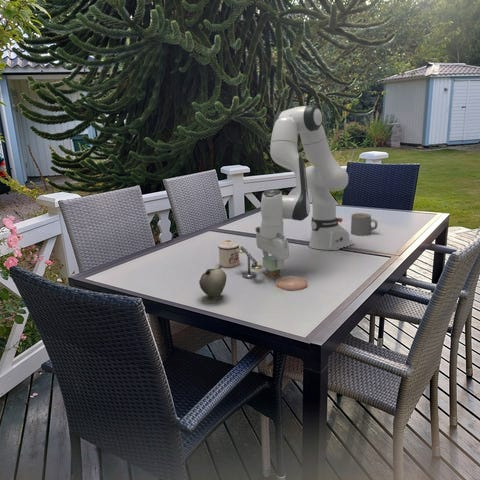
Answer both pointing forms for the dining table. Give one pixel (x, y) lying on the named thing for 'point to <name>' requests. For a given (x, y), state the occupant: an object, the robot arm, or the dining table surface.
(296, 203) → the robot arm
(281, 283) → the saucer
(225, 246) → the teacup with lid
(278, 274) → the block
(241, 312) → the dining table surface
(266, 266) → the cover
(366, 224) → the coffee mug
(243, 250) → the balance
